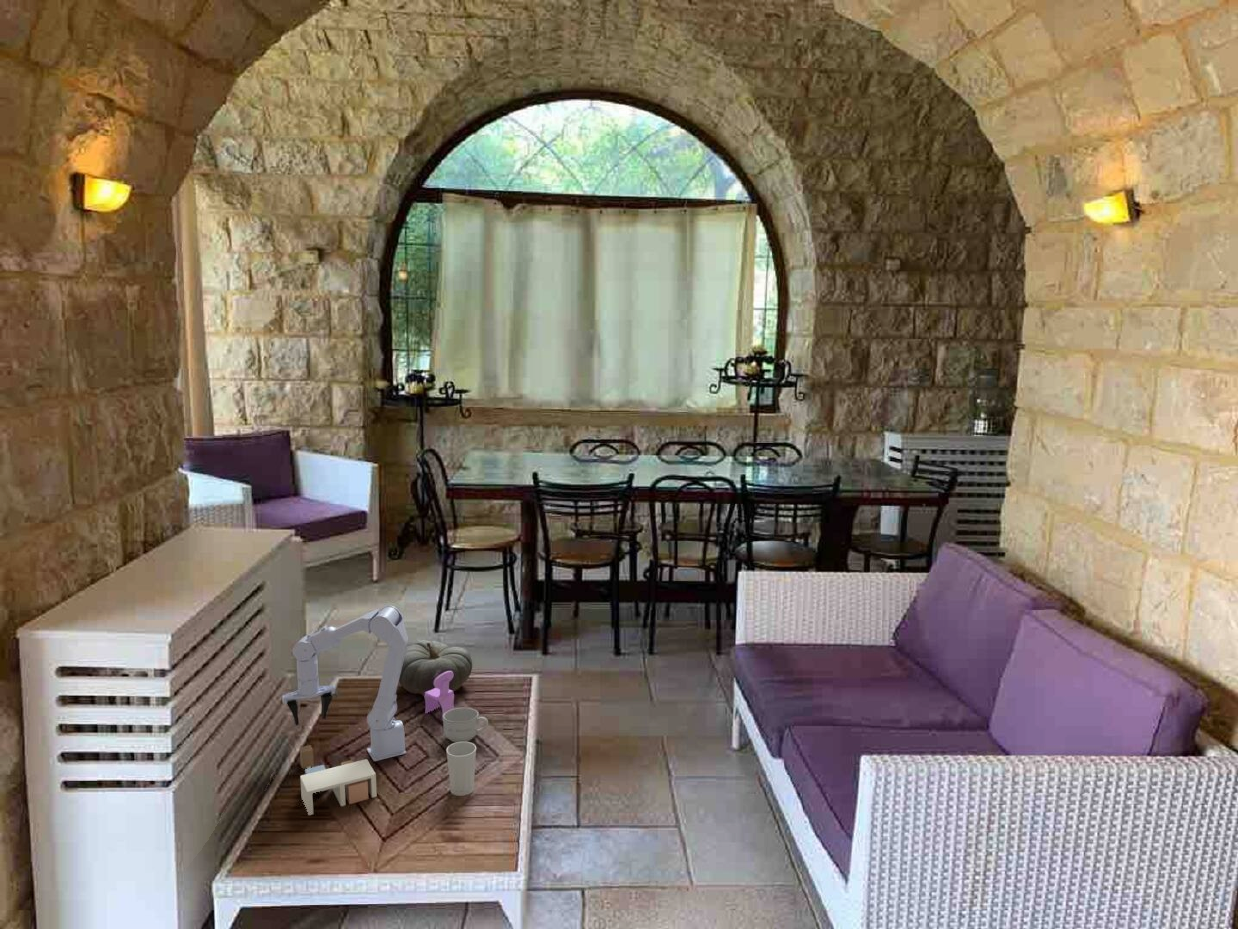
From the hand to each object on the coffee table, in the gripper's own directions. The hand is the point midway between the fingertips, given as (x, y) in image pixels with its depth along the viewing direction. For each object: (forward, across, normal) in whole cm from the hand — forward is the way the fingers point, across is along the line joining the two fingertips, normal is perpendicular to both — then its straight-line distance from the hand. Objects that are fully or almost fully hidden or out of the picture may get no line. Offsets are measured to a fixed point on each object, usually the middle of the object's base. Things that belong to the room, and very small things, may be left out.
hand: (310, 720), depth 253 cm
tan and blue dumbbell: (+9, +3, +16) cm, 19 cm away
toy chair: (+10, -41, -4) cm, 42 cm away
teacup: (+10, -42, +16) cm, 46 cm away
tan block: (+9, -5, +28) cm, 30 cm away
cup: (+10, -31, +42) cm, 53 cm away
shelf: (+9, -1, +30) cm, 31 cm away
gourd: (+10, -46, -23) cm, 52 cm away
